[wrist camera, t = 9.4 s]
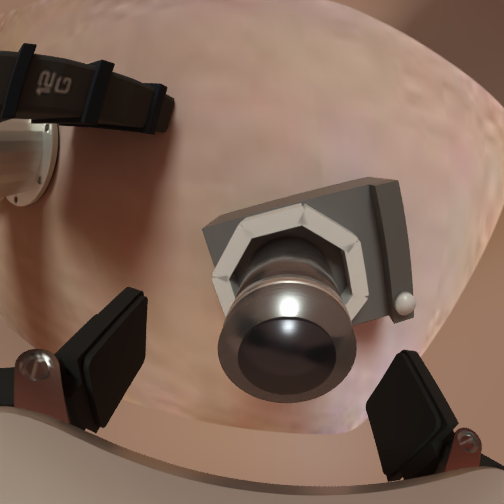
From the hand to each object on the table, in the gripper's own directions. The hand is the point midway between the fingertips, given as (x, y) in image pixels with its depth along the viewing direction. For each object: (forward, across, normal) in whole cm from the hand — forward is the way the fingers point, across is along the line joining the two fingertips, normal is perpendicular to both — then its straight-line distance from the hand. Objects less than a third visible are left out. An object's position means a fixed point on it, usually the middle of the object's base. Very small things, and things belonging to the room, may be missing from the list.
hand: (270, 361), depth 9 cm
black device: (+15, +17, -9) cm, 24 cm away
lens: (+9, -1, 0) cm, 9 cm away
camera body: (+14, -3, -1) cm, 14 cm away
